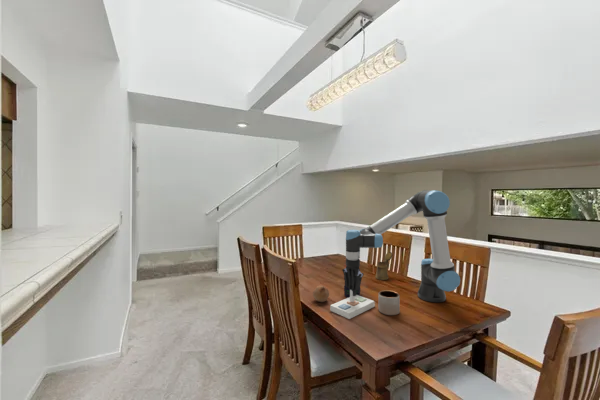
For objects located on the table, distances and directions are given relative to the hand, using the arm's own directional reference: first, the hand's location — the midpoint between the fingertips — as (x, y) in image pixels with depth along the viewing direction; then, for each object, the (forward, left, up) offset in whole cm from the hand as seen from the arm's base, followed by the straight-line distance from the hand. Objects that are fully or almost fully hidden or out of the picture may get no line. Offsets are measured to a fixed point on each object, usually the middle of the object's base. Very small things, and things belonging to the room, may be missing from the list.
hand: (352, 301), depth 154 cm
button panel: (0, 0, -4) cm, 4 cm away
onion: (+19, +5, -4) cm, 20 cm away
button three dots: (0, 0, -4) cm, 4 cm away
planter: (-15, -12, -4) cm, 20 cm away
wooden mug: (+17, -58, -4) cm, 60 cm away
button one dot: (0, +7, -4) cm, 8 cm away
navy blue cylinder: (+12, -15, -4) cm, 19 cm away
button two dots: (0, -7, -4) cm, 8 cm away
